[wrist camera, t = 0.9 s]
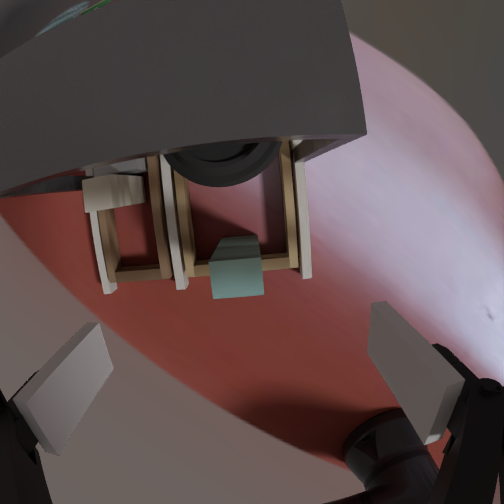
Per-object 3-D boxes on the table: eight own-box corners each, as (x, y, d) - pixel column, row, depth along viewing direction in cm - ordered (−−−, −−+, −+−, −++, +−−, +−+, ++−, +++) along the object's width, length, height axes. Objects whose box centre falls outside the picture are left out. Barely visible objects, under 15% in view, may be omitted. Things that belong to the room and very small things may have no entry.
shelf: (301, 163, 32) (367, 134, 13) (95, 189, 32) (-26, 201, 13) (291, 80, 30) (333, -21, 11) (91, 112, 30) (-19, 71, 11)
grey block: (152, 170, 32) (136, 168, 27) (113, 177, 32) (94, 177, 27) (149, 129, 31) (133, 120, 26) (111, 137, 31) (91, 131, 26)
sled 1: (174, 272, 34) (151, 300, 26) (117, 276, 34) (82, 302, 26) (157, 103, 30) (129, 78, 21) (100, 116, 30) (60, 100, 21)
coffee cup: (176, 166, 32) (122, 151, 17) (214, 96, 30) (189, 35, 16) (248, 201, 33) (247, 212, 18) (286, 130, 31) (314, 88, 16)
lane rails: (308, 273, 35) (311, 278, 33) (110, 288, 35) (104, 293, 33) (291, 76, 30) (293, 70, 28) (91, 109, 30) (83, 105, 28)
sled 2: (295, 261, 34) (314, 295, 23) (191, 271, 34) (166, 307, 24) (279, 88, 30) (292, 47, 19) (174, 100, 30) (142, 65, 19)
